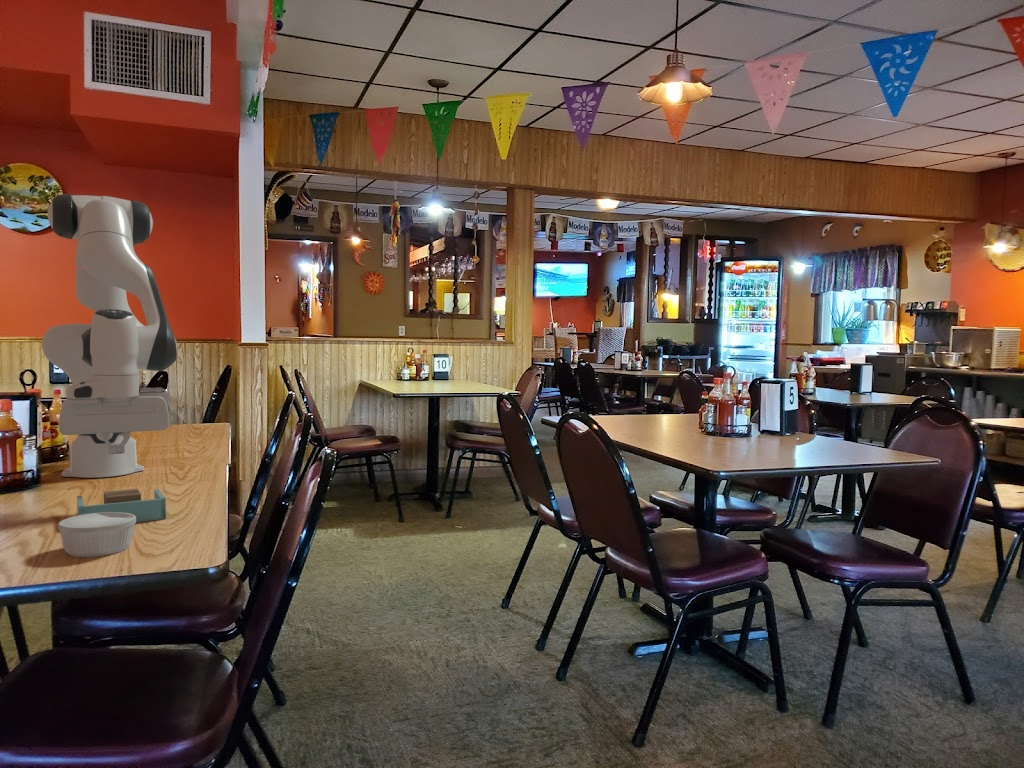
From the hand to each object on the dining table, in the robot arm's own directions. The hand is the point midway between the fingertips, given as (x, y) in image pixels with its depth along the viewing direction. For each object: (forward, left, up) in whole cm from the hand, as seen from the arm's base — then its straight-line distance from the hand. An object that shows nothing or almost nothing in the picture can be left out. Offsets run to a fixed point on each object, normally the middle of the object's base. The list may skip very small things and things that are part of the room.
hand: (116, 453), depth 149 cm
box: (+11, 0, -11) cm, 15 cm away
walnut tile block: (+10, 0, -12) cm, 15 cm away
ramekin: (+33, -5, -12) cm, 35 cm away
